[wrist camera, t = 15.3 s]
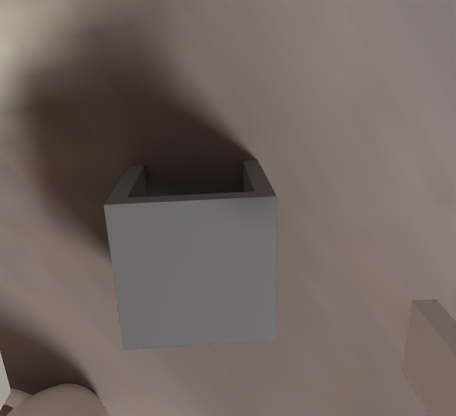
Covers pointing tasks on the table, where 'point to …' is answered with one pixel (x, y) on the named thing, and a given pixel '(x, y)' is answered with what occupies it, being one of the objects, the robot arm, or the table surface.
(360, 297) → the table surface
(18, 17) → the table surface
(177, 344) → the box
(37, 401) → the cup
